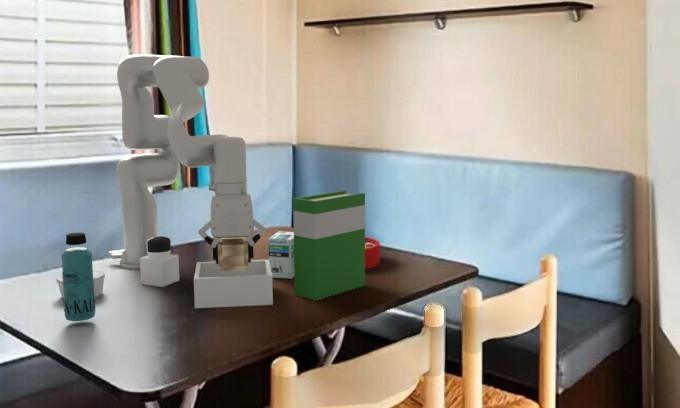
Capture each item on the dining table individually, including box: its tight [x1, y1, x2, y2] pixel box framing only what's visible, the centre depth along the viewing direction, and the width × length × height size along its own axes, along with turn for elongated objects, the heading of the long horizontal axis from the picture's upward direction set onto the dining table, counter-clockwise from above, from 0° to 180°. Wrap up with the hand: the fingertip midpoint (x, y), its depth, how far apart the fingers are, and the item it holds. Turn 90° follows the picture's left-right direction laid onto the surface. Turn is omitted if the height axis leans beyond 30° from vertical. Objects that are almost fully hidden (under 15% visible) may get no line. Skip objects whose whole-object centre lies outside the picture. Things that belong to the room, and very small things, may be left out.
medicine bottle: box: [139, 235, 180, 288], centre depth 190 cm, size 7×7×12 cm
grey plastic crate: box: [193, 259, 274, 309], centre depth 178 cm, size 18×16×7 cm
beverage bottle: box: [60, 232, 96, 322], centre depth 157 cm, size 6×7×20 cm
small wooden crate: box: [218, 237, 249, 271], centre depth 176 cm, size 7×9×6 cm
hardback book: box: [292, 189, 366, 301], centre depth 182 cm, size 18×7×24 cm, turn 137°
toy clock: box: [365, 236, 381, 270], centre depth 212 cm, size 20×6×20 cm
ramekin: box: [56, 269, 106, 299], centre depth 180 cm, size 11×11×5 cm
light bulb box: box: [267, 230, 294, 280], centre depth 199 cm, size 11×7×11 cm, turn 168°
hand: (233, 261), depth 177 cm, fingers closed on small wooden crate, 7 cm apart
